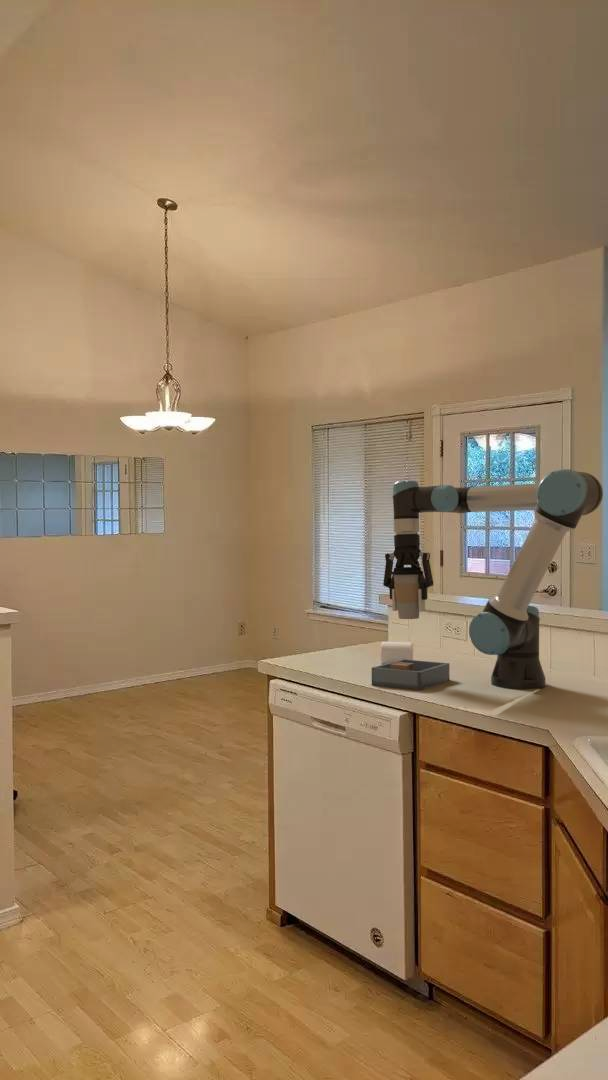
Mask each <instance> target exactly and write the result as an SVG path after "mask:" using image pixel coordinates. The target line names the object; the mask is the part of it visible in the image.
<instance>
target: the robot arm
mask: <svg viewBox="0 0 608 1080" xmlns="http://www.w3.org/2000/svg"><path fill="white" fill-rule="evenodd" d="M603 496H604V490H603V487H602V484H601V482H600V481H599V480H598V479H597V478H596V477H595V476H594V475H593V474H590V473H587V472H584V471H583V472H582V471H576V470H574V469H573V470H572V469H567V468H566V469H563V468H562V469H557V470H553V471H551V472H549V473H548V474H546V475H545V476H544V477H543V478H542V479H541V481H540V482H534V483H522V484H521V483H520V484H519V483H517V484H505V485H504V484H501V485H499V484H498V485H484V486H483V485H482V486H464V487H463V486H462V487H455V486H453V485H451V484H439V485H431V486H419V482H418V481H416V480H400V481H396V482H394V483H393V486H392V503H393V504H392V505H393V533H395V534H394V535H393V545H394V551H393V552H390V553H385V554H384V556H385V557H384V558H385V566H384V574H383V582H382V583H383V586H384V587H386V588H388V589H389V600H392V601H391V602H392V603H391V607H392V612H396V611H397V612H398V607H397V602H396V595H395V587H394V584H395V583H394V575H391V574H392V572H393V570H394V568H403V567H405V566H410V567H421V565H420V562H419V559H421V563H422V569H423V570H422V571H423V574H418V582H419V584H420V589H418V599H419V612H426V600H428V598H429V597H428V588H431V587H433V586H434V579H433V573H432V567H431V563H430V558H431V554H430V552H423V551H421V548H420V547H421V546H420V545H421V539H420V537H421V536H420V534H419V532H420V513H421V514H422V513H423V514H424V513H454V514H455V513H456V514H465V513H484V512H485V513H486V512H511V511H512V512H517V511H519V512H520V511H522V512H523V511H533V513H534V516H535V519H534V521H533V523H532V525H531V527H530V529H529V531H528V534H527V535H526V538H525V539H524V541H523V543H522V544H521V547H520V549H519V551H518V552H517V555H516V557H515V559H514V561H513V563H512V564H511V567H510V569H509V571H508V573H507V575H506V577H505V579H504V581H503V582H502V585H501V587H500V589H499V591H498V593H497V595H496V596H492V597H489V599H488V600H487V602H486V604H485V606H484V608H483V611H482V612H479V613H477V614H476V615H475V616H474V617H473V618H472V619H471V621H470V622H469V623H470V624H469V627H468V634H469V638H470V642H471V644H472V645H473V647H474V648H475V649H477V650H478V651H479V652H481V653H482V654H484V655H488V656H489V655H490V656H497V657H496V661H495V664H494V667H493V671H492V672H491V676H490V678H491V679H490V684H491V686H494V687H497V688H503V689H510V690H536V689H543V688H545V687H546V683H547V682H546V675H545V672H544V670H543V667H542V664H541V660H540V620H541V618H540V611H539V609H538V607H536V606H534V605H530V603H531V601H532V600H533V598H534V596H535V594H536V591H537V590H538V589H539V586H540V584H541V582H542V580H543V578H544V577H545V575H546V573H547V570H548V569H549V567H550V565H551V563H552V561H553V560H554V557H555V556H556V554H557V551H558V549H559V547H560V545H561V543H562V542H563V540H564V538H565V536H566V534H567V533H568V532H570V531H573V530H575V529H576V527H577V526H578V524H579V522H580V521H581V518H582V516H586V515H590V514H591V513H593V512H595V510H597V509H598V508H599V506H600V505H601V503H602V502H603V501H602V500H603V498H604V497H603ZM394 559H396V562H395V564H394ZM394 565H395V567H394ZM417 571H418V570H417Z"/></svg>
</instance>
